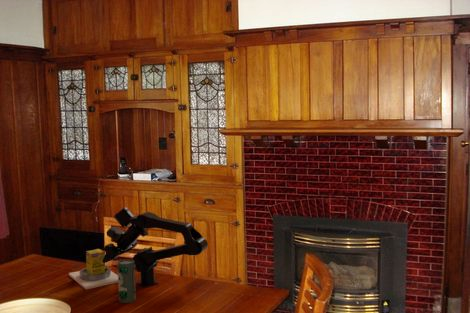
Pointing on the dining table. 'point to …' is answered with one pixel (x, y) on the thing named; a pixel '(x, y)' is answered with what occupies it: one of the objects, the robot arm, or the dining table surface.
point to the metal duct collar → (95, 275)
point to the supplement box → (95, 261)
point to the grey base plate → (93, 284)
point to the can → (126, 281)
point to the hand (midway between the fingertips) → (109, 259)
